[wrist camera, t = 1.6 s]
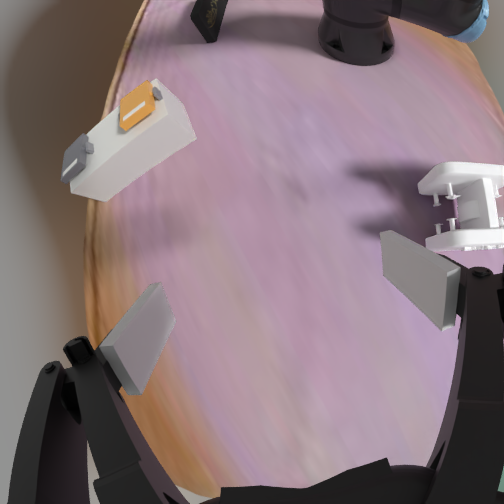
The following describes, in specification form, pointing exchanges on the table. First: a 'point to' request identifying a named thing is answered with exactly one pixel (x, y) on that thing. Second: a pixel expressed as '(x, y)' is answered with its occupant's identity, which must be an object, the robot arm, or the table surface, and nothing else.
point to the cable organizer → (467, 205)
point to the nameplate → (208, 17)
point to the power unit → (132, 146)
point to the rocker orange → (136, 105)
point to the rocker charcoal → (74, 159)
